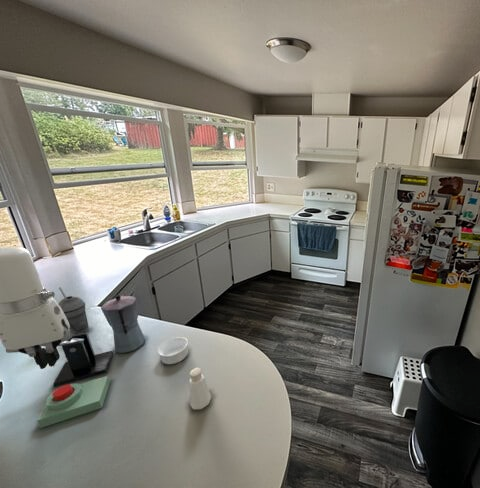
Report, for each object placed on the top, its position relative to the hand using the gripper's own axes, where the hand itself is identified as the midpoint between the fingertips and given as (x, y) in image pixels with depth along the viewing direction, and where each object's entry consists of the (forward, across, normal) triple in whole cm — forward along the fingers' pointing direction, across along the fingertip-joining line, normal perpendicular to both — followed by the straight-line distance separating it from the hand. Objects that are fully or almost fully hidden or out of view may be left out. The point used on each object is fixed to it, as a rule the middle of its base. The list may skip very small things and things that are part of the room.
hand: (50, 363), depth 63 cm
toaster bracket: (+15, 0, -14) cm, 21 cm away
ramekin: (+15, -25, -8) cm, 30 cm away
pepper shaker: (+15, -32, +14) cm, 38 cm away
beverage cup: (+15, +7, -36) cm, 40 cm away
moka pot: (+15, -11, -20) cm, 28 cm away
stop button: (+11, 0, 0) cm, 11 cm away
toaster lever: (+5, +5, -14) cm, 15 cm away
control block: (+15, -2, 0) cm, 15 cm away
